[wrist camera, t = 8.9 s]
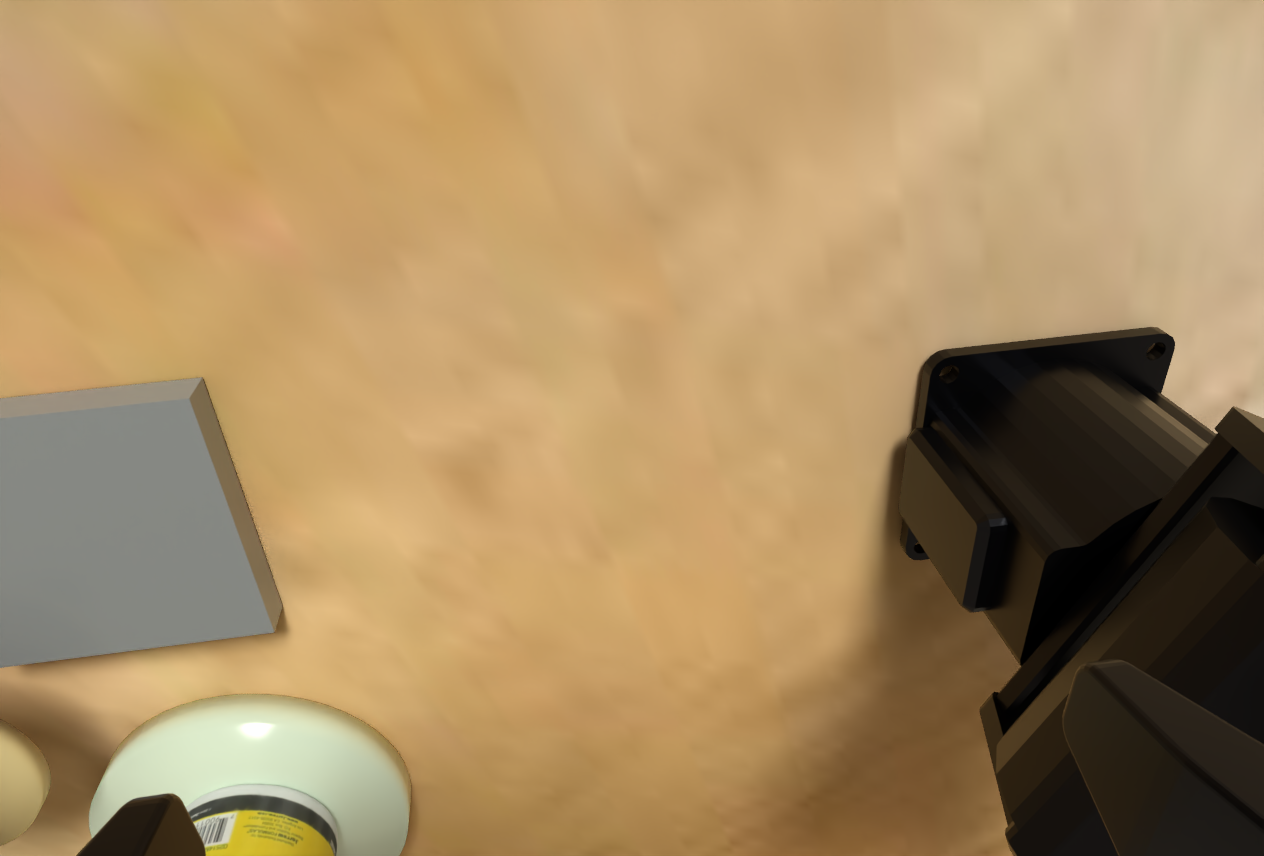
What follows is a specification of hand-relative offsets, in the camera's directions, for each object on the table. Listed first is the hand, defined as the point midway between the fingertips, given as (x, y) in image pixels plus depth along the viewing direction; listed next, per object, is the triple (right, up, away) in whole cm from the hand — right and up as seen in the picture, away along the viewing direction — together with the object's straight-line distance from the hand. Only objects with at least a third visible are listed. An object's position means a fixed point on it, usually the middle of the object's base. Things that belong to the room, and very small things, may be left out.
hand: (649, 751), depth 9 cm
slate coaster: (-13, +1, +13) cm, 18 cm away
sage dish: (-12, -8, +18) cm, 23 cm away
